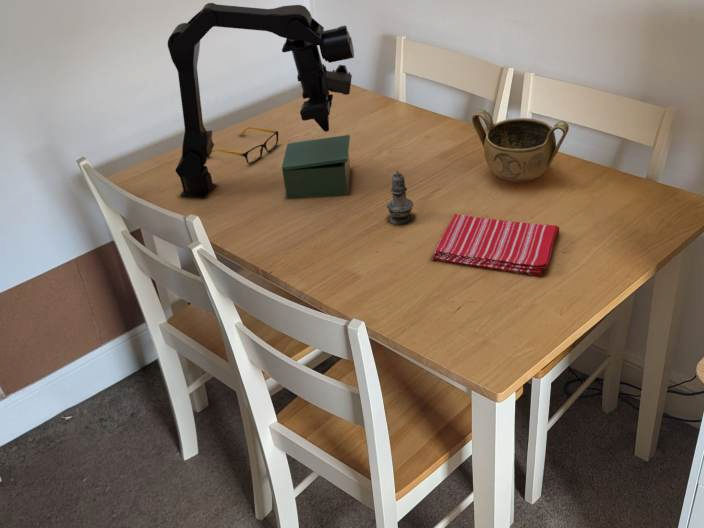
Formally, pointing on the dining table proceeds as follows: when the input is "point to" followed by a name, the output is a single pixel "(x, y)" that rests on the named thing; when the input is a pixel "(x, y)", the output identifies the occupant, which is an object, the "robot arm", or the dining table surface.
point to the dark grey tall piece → (399, 202)
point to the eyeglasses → (254, 147)
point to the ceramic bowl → (518, 146)
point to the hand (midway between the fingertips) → (326, 130)
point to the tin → (318, 180)
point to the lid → (316, 152)
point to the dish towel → (497, 244)
